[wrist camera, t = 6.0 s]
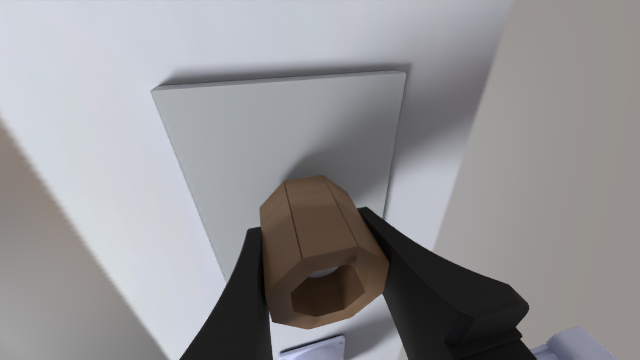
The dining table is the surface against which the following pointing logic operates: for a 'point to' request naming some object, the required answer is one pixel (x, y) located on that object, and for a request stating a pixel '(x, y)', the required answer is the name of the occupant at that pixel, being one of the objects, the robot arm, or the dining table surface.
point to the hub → (317, 254)
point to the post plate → (279, 144)
